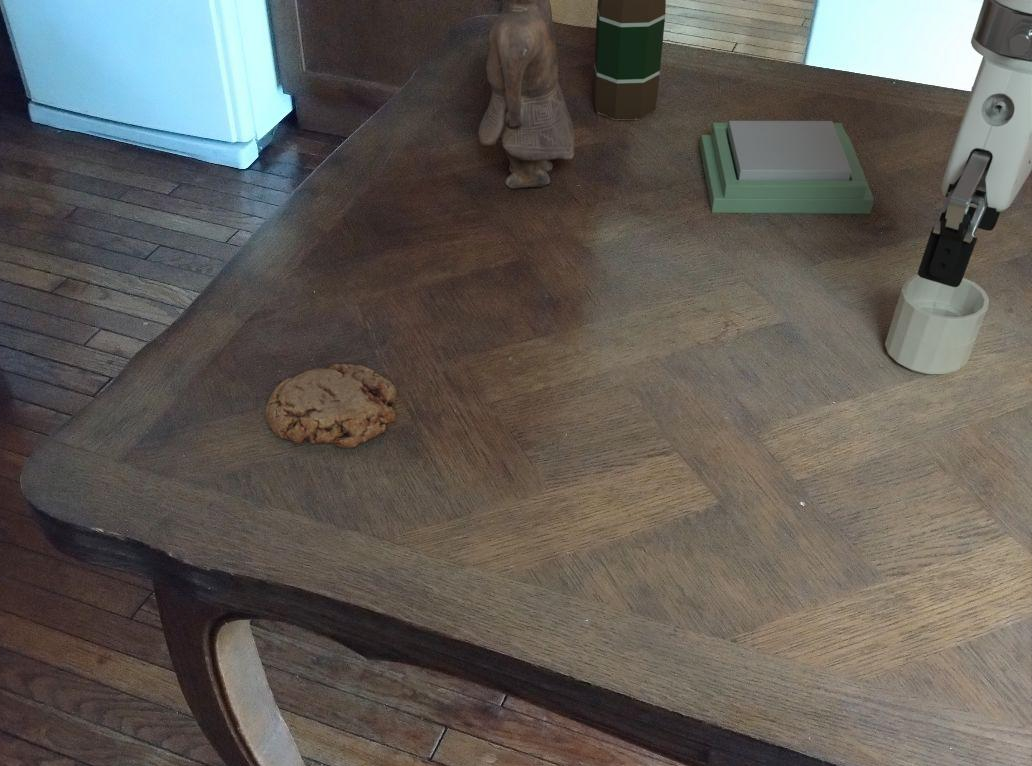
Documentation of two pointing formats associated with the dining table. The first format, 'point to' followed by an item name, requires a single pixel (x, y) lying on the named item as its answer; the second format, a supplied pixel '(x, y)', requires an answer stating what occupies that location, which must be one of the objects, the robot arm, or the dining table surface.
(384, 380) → the cookie
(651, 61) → the beer bottle
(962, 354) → the cup
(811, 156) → the pan
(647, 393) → the dining table surface
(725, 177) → the scale
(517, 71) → the clay figurine
